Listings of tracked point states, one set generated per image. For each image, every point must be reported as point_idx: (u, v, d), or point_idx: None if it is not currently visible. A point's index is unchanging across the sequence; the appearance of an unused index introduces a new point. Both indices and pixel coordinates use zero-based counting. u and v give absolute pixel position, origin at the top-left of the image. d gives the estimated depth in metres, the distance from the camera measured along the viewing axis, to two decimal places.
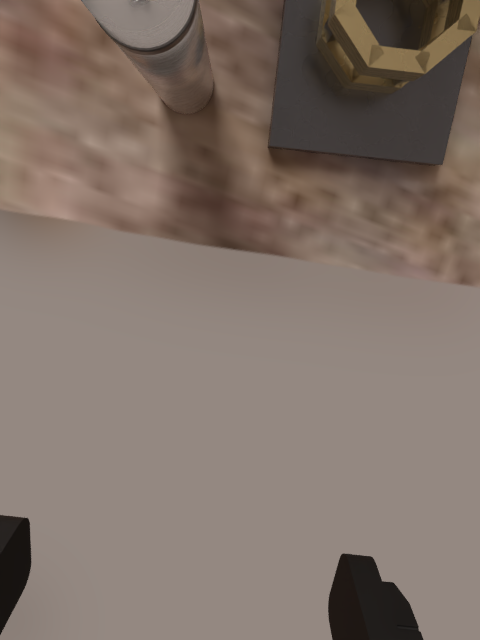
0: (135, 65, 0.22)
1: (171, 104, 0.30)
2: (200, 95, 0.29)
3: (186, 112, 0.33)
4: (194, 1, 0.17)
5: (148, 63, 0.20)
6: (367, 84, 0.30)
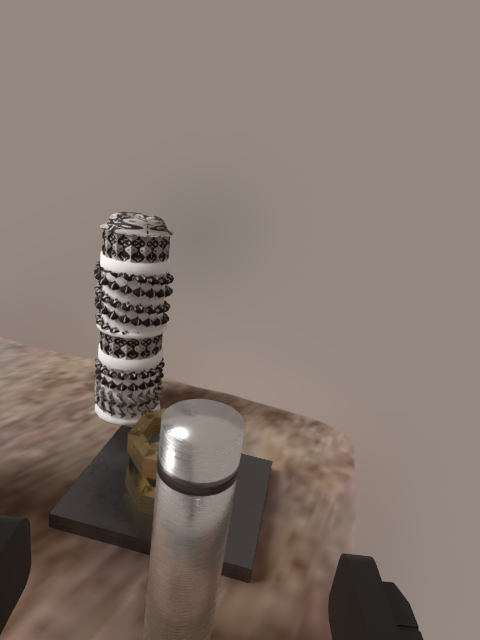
0: (218, 543, 0.23)
1: None
2: None
3: None
4: None
5: None
6: None
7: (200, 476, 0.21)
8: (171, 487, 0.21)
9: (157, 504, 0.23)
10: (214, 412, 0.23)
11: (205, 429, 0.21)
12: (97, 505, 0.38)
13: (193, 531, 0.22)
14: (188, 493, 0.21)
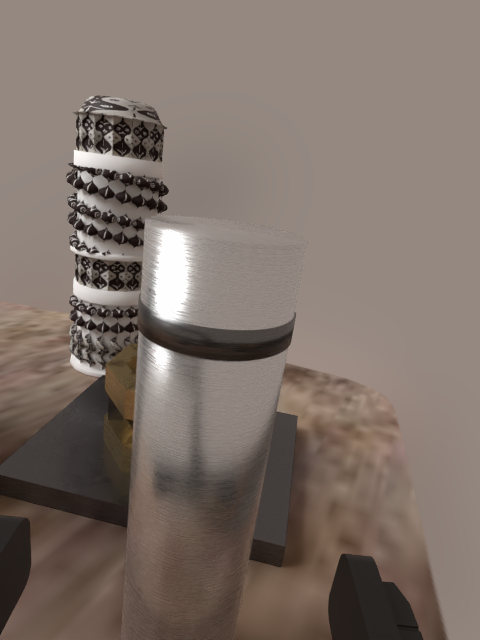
0: (253, 471, 0.12)
1: None
2: None
3: None
4: None
5: (279, 391, 0.13)
6: None
7: (225, 313, 0.10)
8: (165, 346, 0.11)
9: (139, 395, 0.12)
10: (244, 226, 0.12)
11: (232, 233, 0.11)
12: (63, 463, 0.27)
13: (209, 440, 0.11)
14: (201, 352, 0.10)
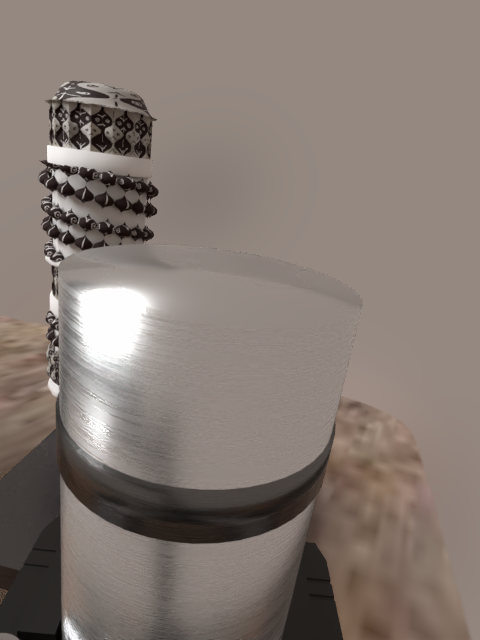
0: None
1: None
2: None
3: None
4: None
5: None
6: None
7: (207, 462, 0.05)
8: (95, 506, 0.06)
9: (62, 561, 0.07)
10: (246, 265, 0.07)
11: (224, 288, 0.06)
12: (22, 528, 0.22)
13: None
14: (160, 530, 0.05)
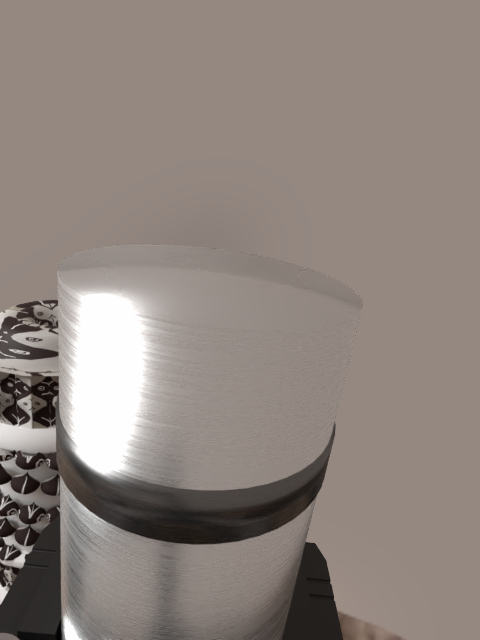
0: None
1: None
2: None
3: None
4: None
5: None
6: None
7: (207, 463, 0.05)
8: (95, 507, 0.06)
9: (62, 562, 0.07)
10: (245, 265, 0.07)
11: (224, 288, 0.06)
12: None
13: None
14: (160, 531, 0.05)
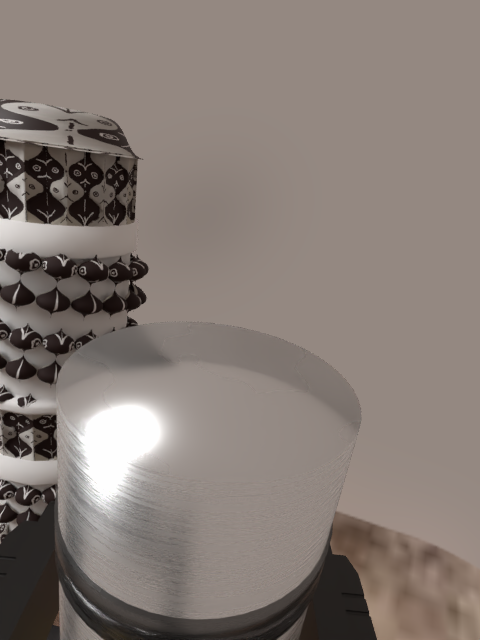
0: None
1: None
2: None
3: None
4: None
5: None
6: None
7: (204, 596, 0.05)
8: (92, 621, 0.06)
9: None
10: (245, 354, 0.07)
11: (222, 405, 0.06)
12: None
13: None
14: None
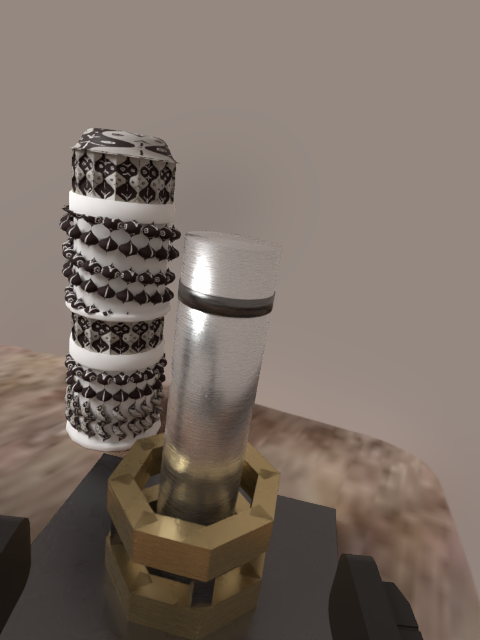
0: (248, 390, 0.20)
1: None
2: None
3: None
4: None
5: None
6: (263, 562, 0.23)
7: (233, 289, 0.18)
8: (197, 309, 0.18)
9: (178, 341, 0.19)
10: (244, 239, 0.20)
11: (237, 243, 0.18)
12: (53, 609, 0.21)
13: (221, 366, 0.19)
14: (218, 312, 0.18)
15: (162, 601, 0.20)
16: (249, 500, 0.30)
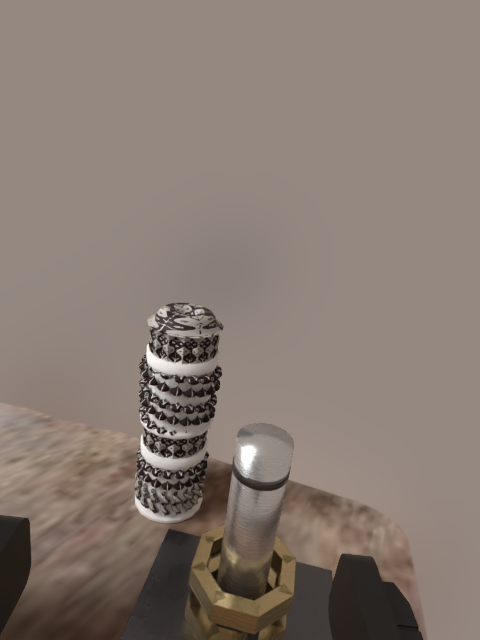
0: (275, 523, 0.33)
1: None
2: None
3: None
4: None
5: (284, 493, 0.33)
6: (285, 616, 0.37)
7: (267, 477, 0.31)
8: (246, 485, 0.31)
9: (233, 497, 0.33)
10: (270, 432, 0.33)
11: (268, 445, 0.32)
12: None
13: (260, 515, 0.32)
14: (259, 489, 0.31)
15: None
16: None
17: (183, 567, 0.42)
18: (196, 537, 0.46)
